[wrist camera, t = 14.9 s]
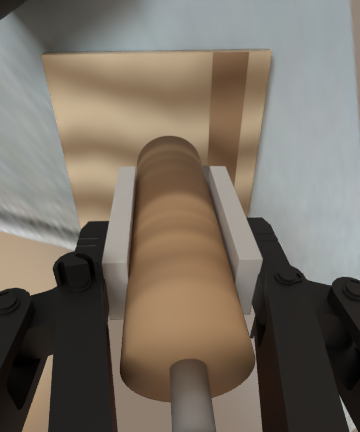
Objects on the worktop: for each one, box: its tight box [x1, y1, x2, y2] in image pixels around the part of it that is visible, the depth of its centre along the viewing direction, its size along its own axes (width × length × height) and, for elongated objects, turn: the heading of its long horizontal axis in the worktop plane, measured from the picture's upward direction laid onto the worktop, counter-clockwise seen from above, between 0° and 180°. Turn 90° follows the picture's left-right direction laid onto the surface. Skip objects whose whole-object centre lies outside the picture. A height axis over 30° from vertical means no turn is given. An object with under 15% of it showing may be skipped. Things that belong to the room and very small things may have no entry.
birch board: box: [41, 49, 272, 229], centre depth 33 cm, size 18×19×1 cm
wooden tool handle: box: [120, 136, 255, 432], centre depth 13 cm, size 4×4×14 cm
